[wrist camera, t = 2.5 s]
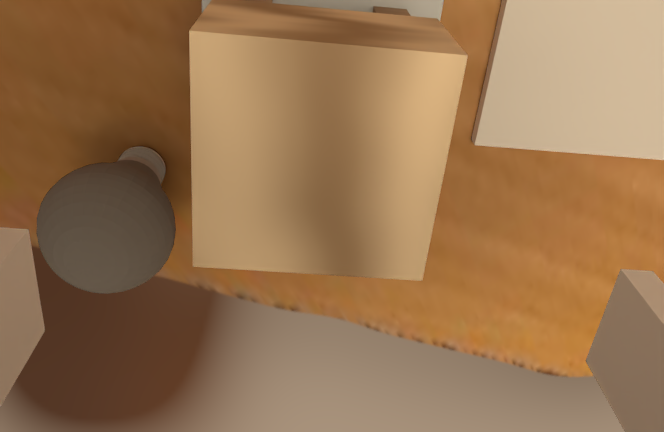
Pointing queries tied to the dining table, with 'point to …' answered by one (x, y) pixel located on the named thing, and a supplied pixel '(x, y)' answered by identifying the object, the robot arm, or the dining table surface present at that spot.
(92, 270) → the light bulb
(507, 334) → the dining table surface
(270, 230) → the stool
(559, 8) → the mat
